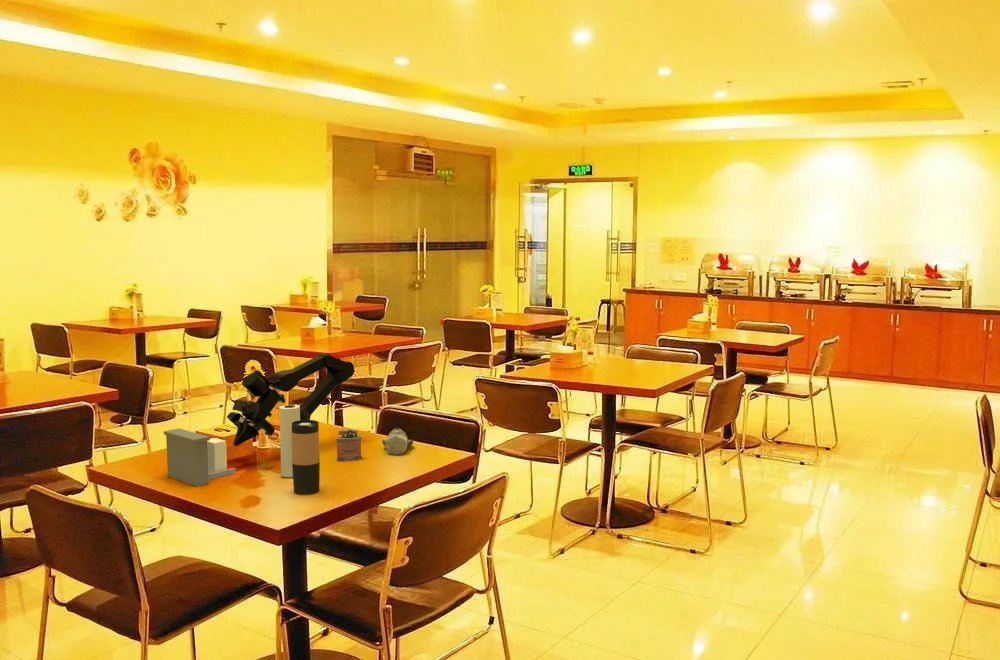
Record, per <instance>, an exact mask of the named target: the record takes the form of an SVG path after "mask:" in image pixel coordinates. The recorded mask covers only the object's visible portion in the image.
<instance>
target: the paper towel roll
mask: <svg viewBox="0 0 1000 660" xmlns="http://www.w3.org/2000/svg"><path fill="white" fill-rule="evenodd" d="M278 409H279V440H280V442H279V443H280V447H279V448H280V473H281V474H280V475H281V477H284V478H293V469H292V422H295V421H299V420H300V405H299V404H297V403H295V404H285V405H282V406H281V405H280V406H279V408H278Z"/></svg>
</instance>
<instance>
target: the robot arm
mask: <svg viewBox="0 0 1000 660" xmlns="http://www.w3.org/2000/svg"><path fill="white" fill-rule="evenodd" d="M322 369H325V370H326V373H325V377H324V378H323V379H322V380H321V382H320V383H319V384H318V385H317V386H316V387H315V388H314V389H313V390H312V392H311V393H310V394H309V395H308V396H307V397H306V398H305V399H304V400H303V402H302V403H301V404H300V405H299V406H300V420H311V416H312V414H313V413H314V412H315V411H316V410H317V409H318V408H319V406H320V405H321V404H322V403H323V402H324V401H325V400H326V399H327V398H328V396H329V395H330V394H331V393H332V392H333V391H334V389H336V387H337V386H338V385H340V384H343V383H345V382H347V381H349V379H350V378H351V377H353V376H354V374H355V366H354V363H353V362H351V361H349V360H342V359H340V358H337V357H335V356H333V355H331V354H329V353H328V354H327V353H318V355H317V356H315V357H312V358H311V359H309V360H306V361H305V362H303V363H301V364H299V365H297V366H295V367H293V368H290V369H285V370H278V371H276V372H274V373H272V374H271V375H270V376H268V377H265V375H264V374H263V373H262V372H261V370H258V369H255V370H254V371H253V372H251V373H248V374H247V375H246V376H244V378H243V379H242V381H241V385H242V386H243V388H245V389H246V390H247V391H248V392H249V393H250V395H252V396H253V397H254V398H256V397H258V398H257V400H256V401H252V400H248V401H242V400H238V399H235V400H234V404H233V406H232V411H231V412H229V413H228V415H227V416H226V418H227V419H228V421H229V422H231V423H232V424H233V425H234V426H235V427H236V428H237V430H236V434H235V437H234V440H233V442H232V445H233V446H234V447H238V446H240V445H241V444H243V443H245V442H247V441H249V440H251V439H253V438H255V437H257V436H260V431H261V430H264V431H265V436H268V437H272V436H273V434H275V430H276V429H275V428H276V427H275V426H274V425H272V424H271V423H270V421H268V420H267V418H271V417H272V415H273V414H272V411H273V410H274V408H275V407H276V405H277V404H278V403H282V404H285V403H286V399H285V394H282V393H279V391H280V392H285V393H286V392H291V391H292V390H293V389H294V388H295V387H297V386H298V384H299V383H300V382H301V381H302V380H303V379H306V378H307V377H309V376H310V375H311V376H312V375H313V374H315V373H316V372H319V371H320V370H322ZM236 411H237V412H236Z"/></svg>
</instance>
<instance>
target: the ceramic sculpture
mask: <svg viewBox="0 0 1000 660" xmlns="http://www.w3.org/2000/svg"><path fill="white" fill-rule="evenodd" d="M381 442H382V445H383V446H384V447H385V450H386V452H387V453H388V454H389V455H393V454H394V455H393V456H399V454H400V455H403V454H404V453H405V452H406V451H407V448H409V447H412V445H413V444H414V440H413V439H409V438H408V436H407V433H406V432H405V431H404V430H402V429H401V428H400V427H398V426H396V427H394V428H393V429H392V430H391V431H390V432H389V433H388V435H387V437H386V439H382V440H381Z"/></svg>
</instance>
